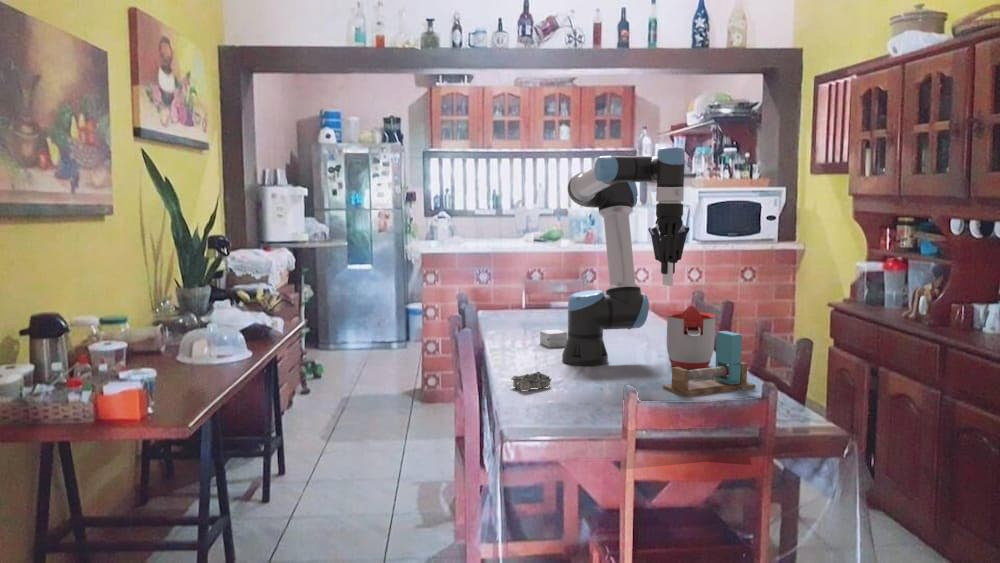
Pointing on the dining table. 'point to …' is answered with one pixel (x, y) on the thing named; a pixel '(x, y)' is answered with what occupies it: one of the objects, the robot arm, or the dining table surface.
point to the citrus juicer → (690, 338)
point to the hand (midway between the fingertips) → (667, 285)
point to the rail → (708, 386)
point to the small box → (553, 338)
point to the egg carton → (531, 381)
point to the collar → (729, 355)
